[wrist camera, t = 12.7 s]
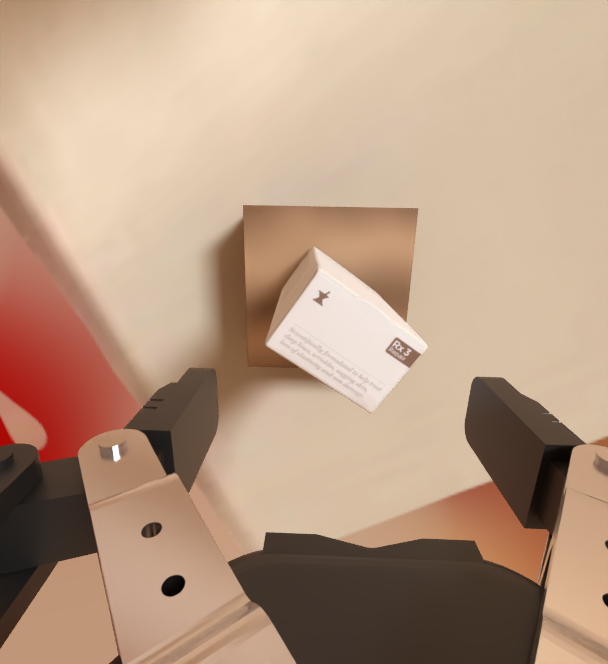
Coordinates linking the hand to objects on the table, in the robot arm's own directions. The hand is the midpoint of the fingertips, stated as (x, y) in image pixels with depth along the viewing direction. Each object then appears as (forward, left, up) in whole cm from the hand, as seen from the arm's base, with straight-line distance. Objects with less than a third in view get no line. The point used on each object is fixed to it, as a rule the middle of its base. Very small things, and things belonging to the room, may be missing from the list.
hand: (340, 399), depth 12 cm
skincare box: (0, 0, -17) cm, 17 cm away
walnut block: (0, 0, -21) cm, 21 cm away
